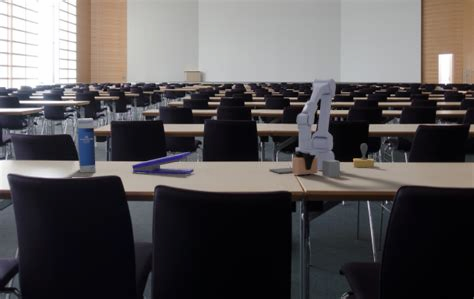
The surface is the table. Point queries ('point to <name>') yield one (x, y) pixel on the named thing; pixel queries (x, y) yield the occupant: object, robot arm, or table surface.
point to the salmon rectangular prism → (300, 166)
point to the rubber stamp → (363, 159)
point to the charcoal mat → (282, 170)
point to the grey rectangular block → (331, 168)
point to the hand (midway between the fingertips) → (304, 168)
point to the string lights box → (86, 145)
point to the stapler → (154, 165)
